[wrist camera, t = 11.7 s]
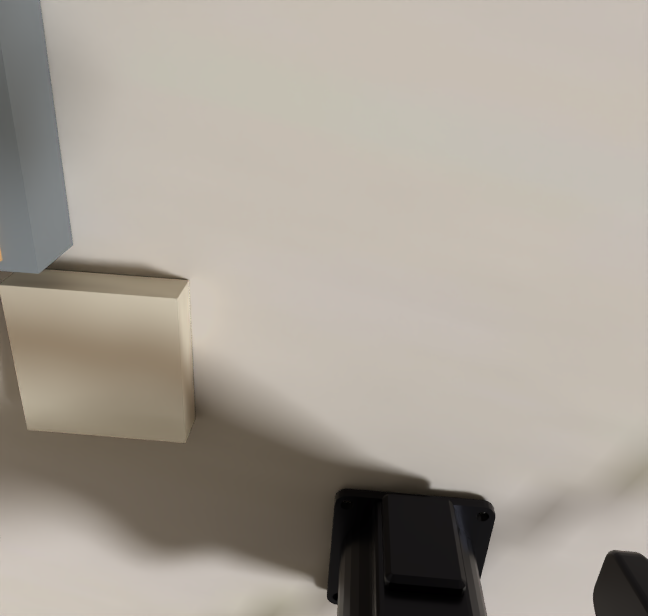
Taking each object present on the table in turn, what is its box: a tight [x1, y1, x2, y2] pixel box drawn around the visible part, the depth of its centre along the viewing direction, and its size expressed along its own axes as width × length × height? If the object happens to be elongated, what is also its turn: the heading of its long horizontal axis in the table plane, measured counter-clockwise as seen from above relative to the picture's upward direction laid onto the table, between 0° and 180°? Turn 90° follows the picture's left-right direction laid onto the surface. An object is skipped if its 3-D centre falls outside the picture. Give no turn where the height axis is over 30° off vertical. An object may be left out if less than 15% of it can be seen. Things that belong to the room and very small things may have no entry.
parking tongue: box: [0, 269, 195, 443], centre depth 22 cm, size 6×6×2 cm
